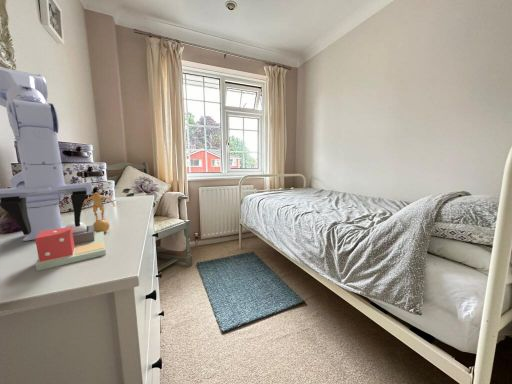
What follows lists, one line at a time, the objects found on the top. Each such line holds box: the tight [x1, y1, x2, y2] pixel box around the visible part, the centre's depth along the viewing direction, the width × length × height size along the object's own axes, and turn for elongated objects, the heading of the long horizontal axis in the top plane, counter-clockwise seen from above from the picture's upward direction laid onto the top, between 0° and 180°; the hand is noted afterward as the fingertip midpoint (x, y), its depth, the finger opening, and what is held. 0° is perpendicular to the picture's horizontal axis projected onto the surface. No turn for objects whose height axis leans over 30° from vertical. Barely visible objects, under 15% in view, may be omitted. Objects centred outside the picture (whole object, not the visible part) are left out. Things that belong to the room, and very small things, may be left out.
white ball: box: [65, 221, 87, 234], centre depth 52 cm, size 4×4×4 cm
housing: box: [73, 224, 96, 245], centre depth 52 cm, size 7×7×2 cm
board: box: [35, 231, 107, 272], centre depth 50 cm, size 16×11×1 cm
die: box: [34, 227, 75, 262], centre depth 44 cm, size 5×5×5 cm
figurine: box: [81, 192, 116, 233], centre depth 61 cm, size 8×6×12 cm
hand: (54, 229), depth 44 cm, fingers open, 7 cm apart
